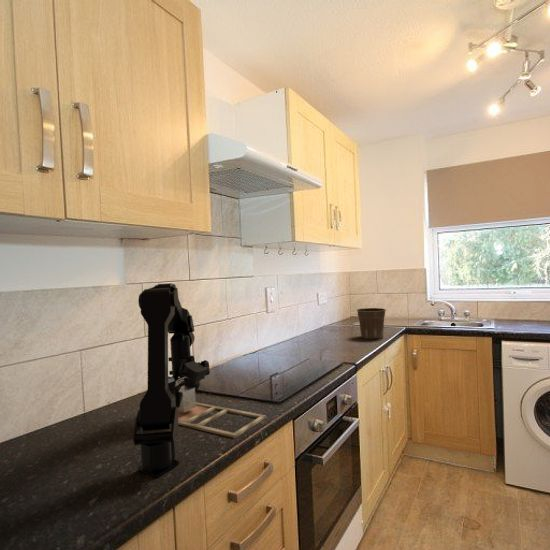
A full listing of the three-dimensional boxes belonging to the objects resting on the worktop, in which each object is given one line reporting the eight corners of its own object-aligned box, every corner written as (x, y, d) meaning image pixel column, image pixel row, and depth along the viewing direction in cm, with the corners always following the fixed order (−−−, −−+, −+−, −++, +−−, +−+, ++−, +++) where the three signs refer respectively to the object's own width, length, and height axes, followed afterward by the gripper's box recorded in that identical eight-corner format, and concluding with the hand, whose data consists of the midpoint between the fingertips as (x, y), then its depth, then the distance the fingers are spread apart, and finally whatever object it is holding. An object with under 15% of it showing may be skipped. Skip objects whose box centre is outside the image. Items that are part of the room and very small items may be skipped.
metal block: (183, 412, 112) (182, 392, 112) (172, 410, 115) (170, 390, 114) (195, 407, 116) (194, 387, 116) (184, 404, 119) (183, 385, 119)
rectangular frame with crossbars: (234, 438, 96) (234, 435, 96) (149, 417, 113) (149, 415, 113) (266, 417, 108) (266, 415, 108) (184, 401, 125) (184, 399, 125)
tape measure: (185, 387, 142) (184, 377, 142) (202, 387, 141) (202, 377, 141) (177, 393, 135) (176, 383, 135) (195, 393, 134) (195, 382, 134)
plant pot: (390, 335, 220) (388, 307, 219) (383, 340, 206) (381, 311, 205) (362, 334, 228) (361, 307, 228) (354, 339, 214) (352, 311, 214)
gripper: (176, 363, 103) (179, 420, 103) (221, 348, 119) (224, 398, 119) (149, 359, 109) (152, 413, 109) (195, 346, 125) (198, 393, 125)
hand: (183, 404), depth 115 cm, fingers closed on metal block, 5 cm apart
